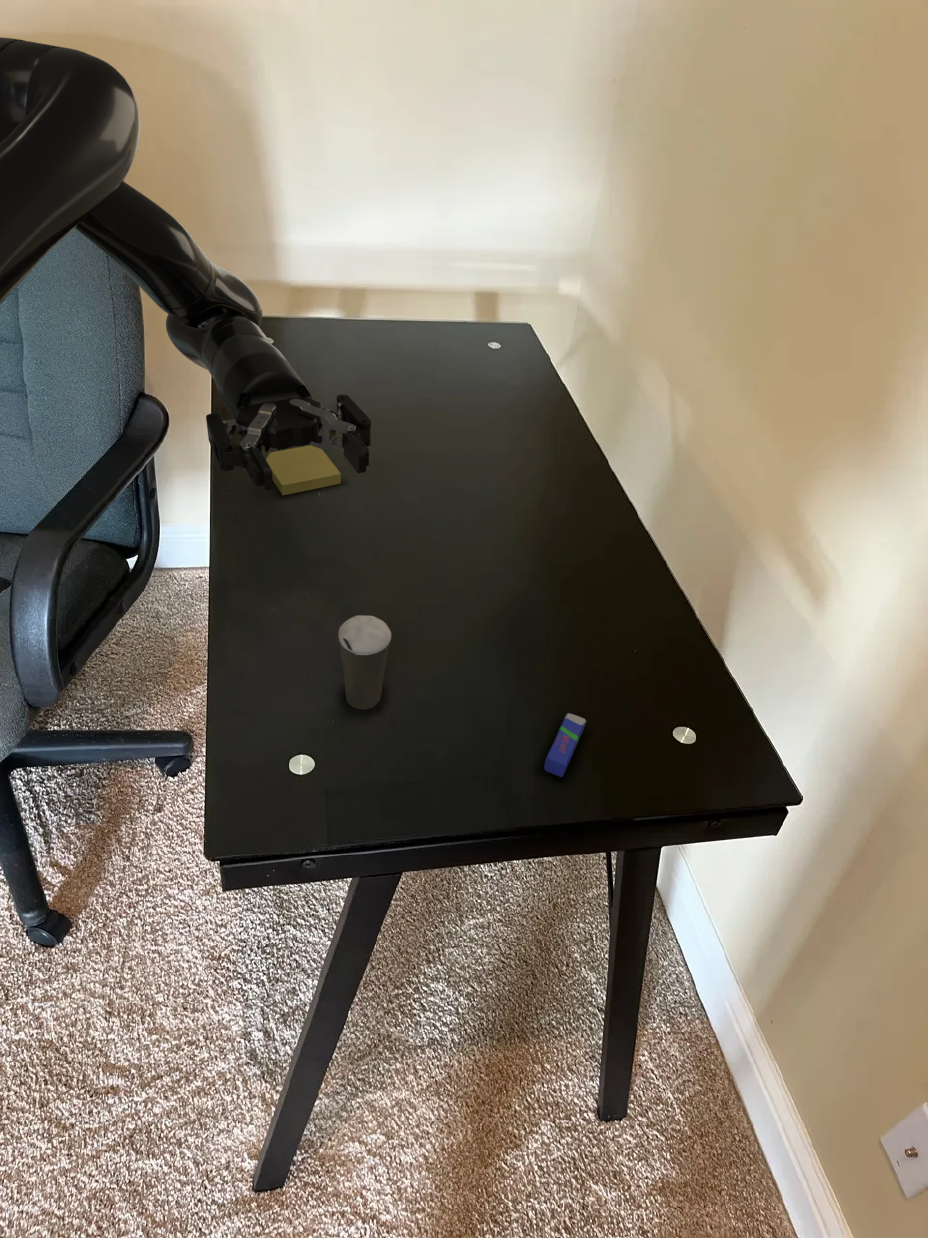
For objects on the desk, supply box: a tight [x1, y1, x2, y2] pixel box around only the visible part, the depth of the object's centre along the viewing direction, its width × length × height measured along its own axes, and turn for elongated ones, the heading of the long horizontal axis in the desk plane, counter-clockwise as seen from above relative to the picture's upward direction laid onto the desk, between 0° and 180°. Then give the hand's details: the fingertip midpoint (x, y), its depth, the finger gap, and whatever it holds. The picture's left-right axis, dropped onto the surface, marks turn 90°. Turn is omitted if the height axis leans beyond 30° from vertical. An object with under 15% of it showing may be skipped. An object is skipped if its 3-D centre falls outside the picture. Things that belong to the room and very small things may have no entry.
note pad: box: [266, 445, 342, 496], centre depth 103 cm, size 8×8×2 cm
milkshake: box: [338, 614, 392, 711], centre depth 73 cm, size 4×5×10 cm
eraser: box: [543, 712, 587, 778], centre depth 74 cm, size 2×6×2 cm, turn 156°
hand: (317, 472), depth 72 cm, fingers open, 8 cm apart
